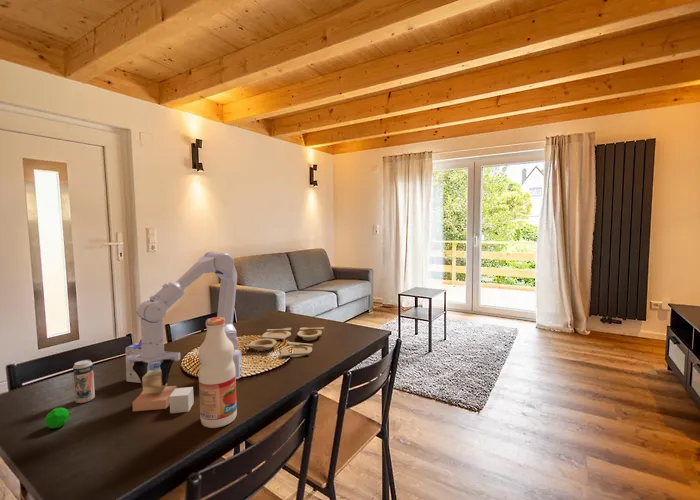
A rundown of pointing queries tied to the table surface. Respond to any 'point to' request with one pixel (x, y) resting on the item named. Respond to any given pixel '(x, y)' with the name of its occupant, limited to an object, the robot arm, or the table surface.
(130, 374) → the ink cartridge box
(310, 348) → the tableware set
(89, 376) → the beer can
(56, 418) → the polyhedron
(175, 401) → the grey cube
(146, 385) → the maple cube
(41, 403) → the table surface
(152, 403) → the terracotta block
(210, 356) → the fruit juice
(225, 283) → the robot arm
